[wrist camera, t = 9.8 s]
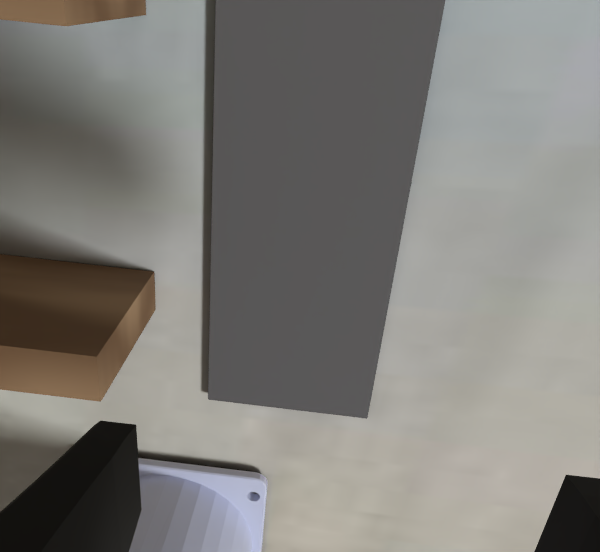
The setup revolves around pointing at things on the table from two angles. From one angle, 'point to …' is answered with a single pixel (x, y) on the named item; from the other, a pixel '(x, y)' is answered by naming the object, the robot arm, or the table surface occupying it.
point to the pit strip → (311, 192)
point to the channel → (69, 278)
